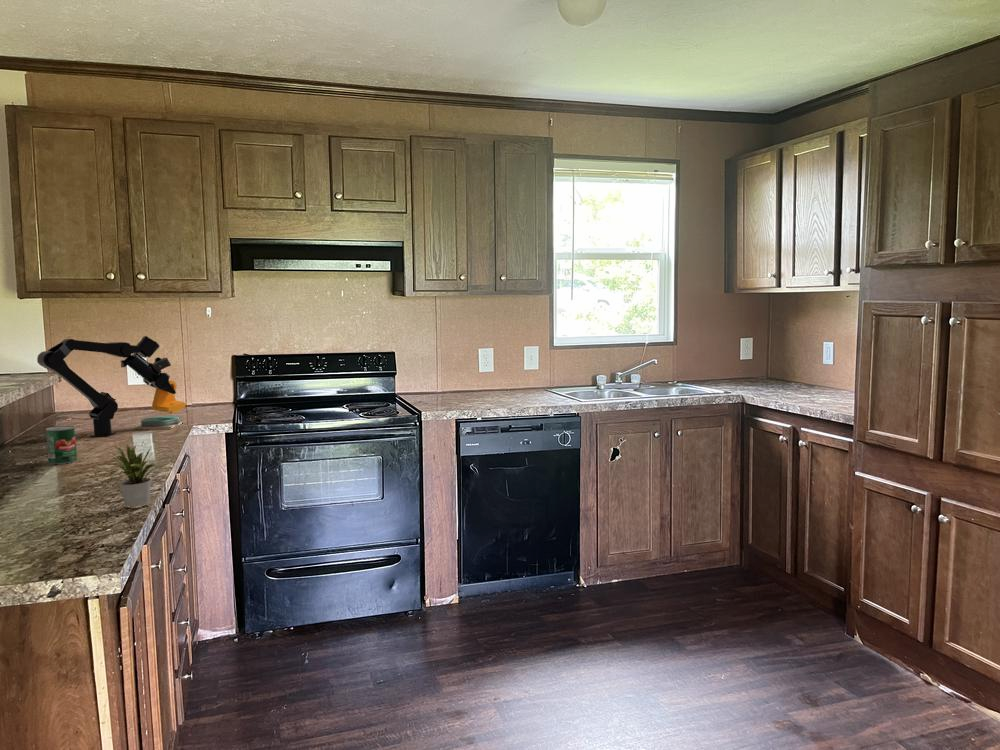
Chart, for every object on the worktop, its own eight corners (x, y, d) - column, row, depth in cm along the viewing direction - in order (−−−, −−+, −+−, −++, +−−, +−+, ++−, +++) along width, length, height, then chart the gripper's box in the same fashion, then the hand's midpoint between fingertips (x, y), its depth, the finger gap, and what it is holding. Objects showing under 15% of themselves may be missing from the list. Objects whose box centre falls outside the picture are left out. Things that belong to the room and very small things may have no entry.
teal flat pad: (170, 429, 291) (170, 421, 291) (134, 429, 291) (134, 422, 291) (185, 422, 305) (185, 415, 304) (151, 423, 305) (150, 416, 304)
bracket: (167, 414, 292) (167, 384, 289) (152, 411, 294) (151, 381, 291) (186, 408, 302) (186, 379, 300) (171, 406, 304) (171, 377, 301)
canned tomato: (58, 459, 240) (55, 425, 239) (82, 459, 240) (79, 425, 239) (42, 465, 232) (39, 430, 231) (67, 464, 232) (64, 429, 231)
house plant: (85, 511, 181) (80, 444, 179) (132, 496, 194) (127, 434, 192) (130, 516, 176) (125, 448, 174) (175, 500, 189) (171, 437, 187)
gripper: (162, 352, 286) (194, 379, 294) (150, 350, 300) (180, 375, 308) (141, 374, 281) (174, 400, 289) (129, 370, 296) (161, 396, 304)
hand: (172, 392), depth 298 cm, fingers closed on bracket, 6 cm apart
